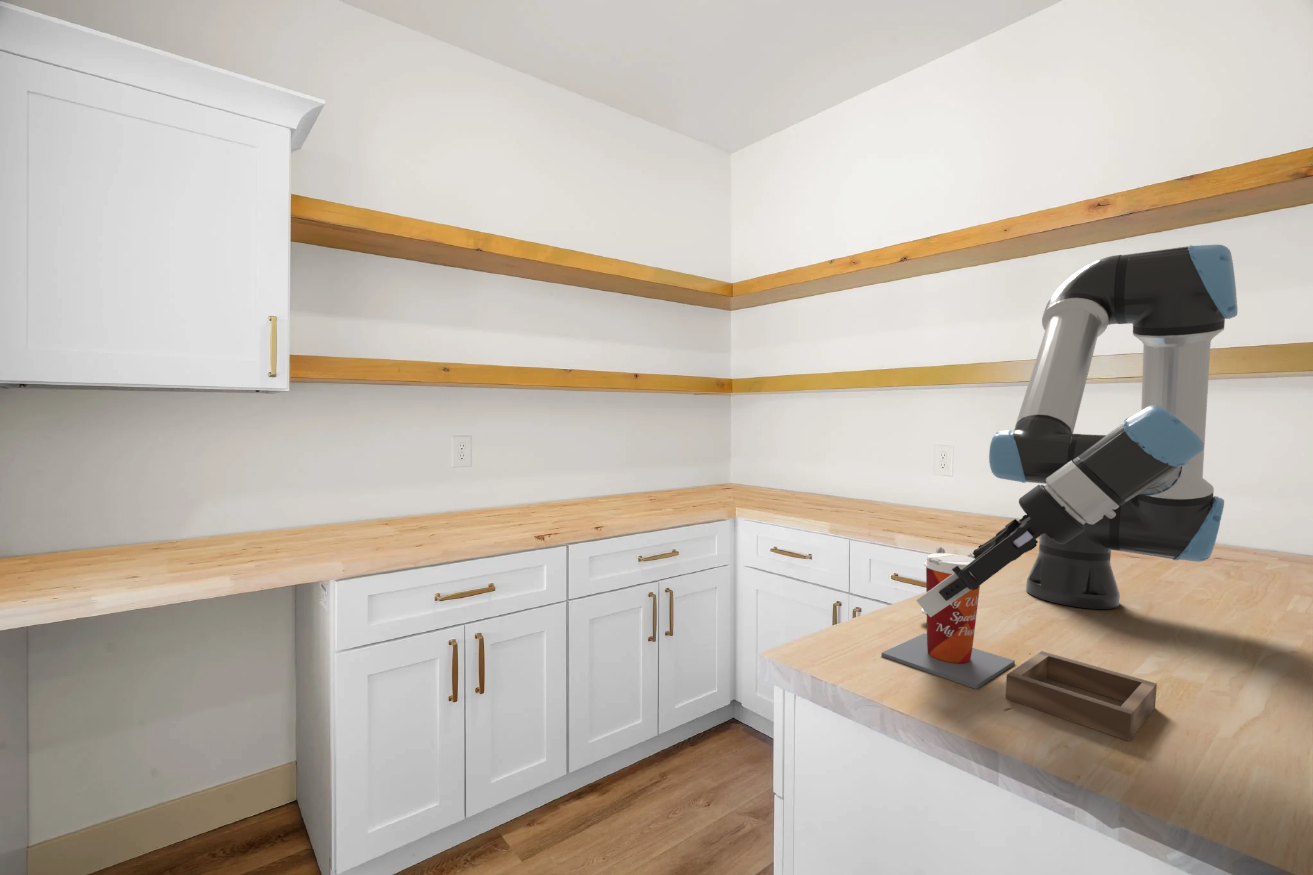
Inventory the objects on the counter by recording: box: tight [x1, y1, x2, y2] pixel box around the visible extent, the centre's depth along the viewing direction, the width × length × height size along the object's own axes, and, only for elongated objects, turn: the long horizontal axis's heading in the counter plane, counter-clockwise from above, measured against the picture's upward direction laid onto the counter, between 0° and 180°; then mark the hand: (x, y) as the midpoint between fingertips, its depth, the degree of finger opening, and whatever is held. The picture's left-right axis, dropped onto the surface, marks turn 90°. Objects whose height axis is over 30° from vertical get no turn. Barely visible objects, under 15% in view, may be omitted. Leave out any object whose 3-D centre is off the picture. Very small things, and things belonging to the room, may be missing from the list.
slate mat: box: [881, 632, 1016, 690], centre depth 87 cm, size 13×13×1 cm
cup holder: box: [1004, 650, 1158, 742], centre depth 75 cm, size 12×12×3 cm
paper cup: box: [923, 552, 981, 664], centre depth 87 cm, size 8×8×14 cm
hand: (933, 596), depth 88 cm, fingers open, 13 cm apart
